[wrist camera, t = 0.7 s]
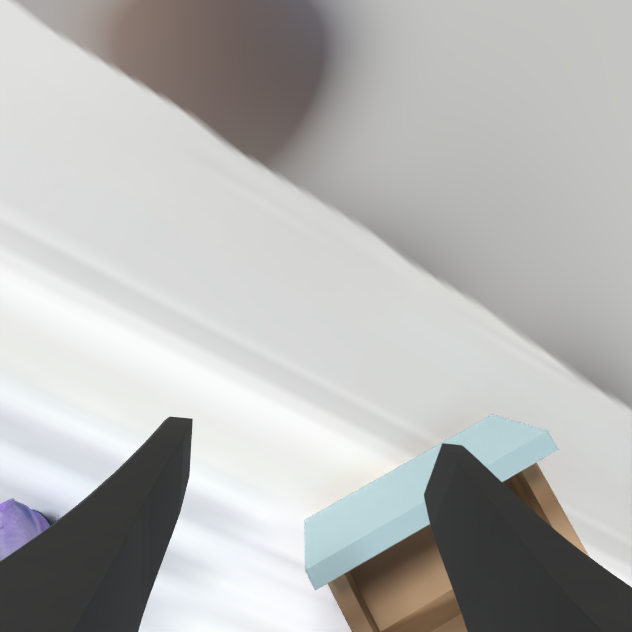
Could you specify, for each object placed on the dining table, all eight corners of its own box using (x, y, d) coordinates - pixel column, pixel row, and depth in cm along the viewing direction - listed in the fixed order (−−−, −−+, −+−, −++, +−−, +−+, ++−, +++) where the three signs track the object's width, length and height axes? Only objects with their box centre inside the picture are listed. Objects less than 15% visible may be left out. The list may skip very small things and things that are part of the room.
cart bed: (540, 525, 33) (592, 563, 27) (367, 628, 32) (382, 691, 26) (484, 425, 34) (523, 440, 28) (313, 522, 32) (315, 559, 26)
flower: (95, 605, 25) (-116, 606, 21) (58, 682, 28) (-135, 697, 24) (117, 484, 33) (-33, 466, 29) (87, 553, 36) (-54, 547, 31)
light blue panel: (500, 428, 31) (558, 449, 24) (312, 535, 29) (315, 590, 22) (492, 414, 31) (548, 430, 24) (304, 519, 29) (304, 570, 22)
